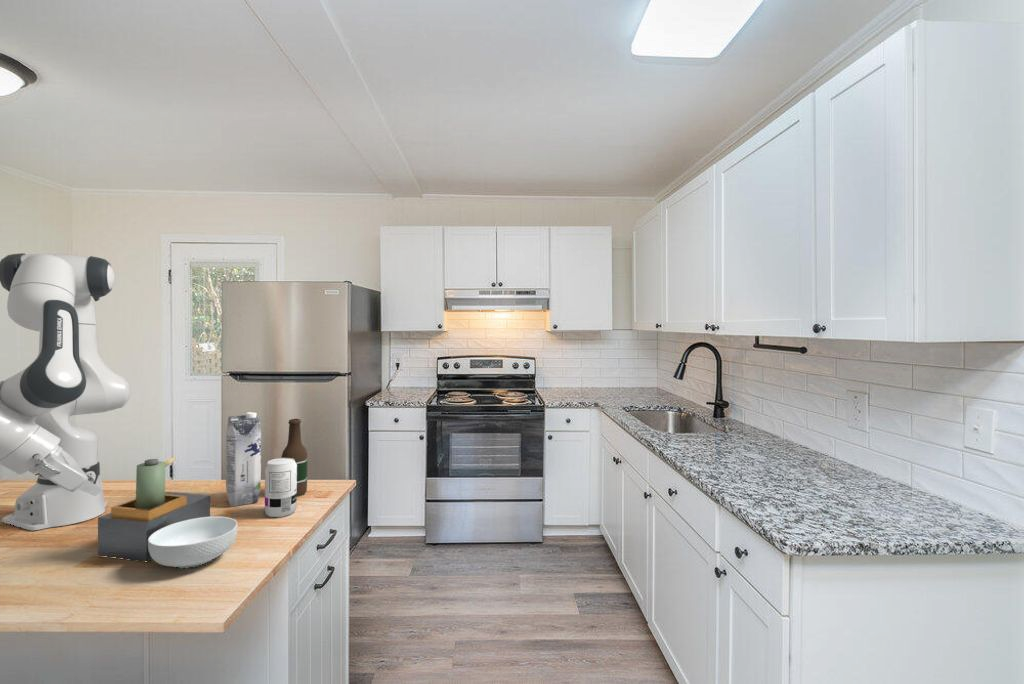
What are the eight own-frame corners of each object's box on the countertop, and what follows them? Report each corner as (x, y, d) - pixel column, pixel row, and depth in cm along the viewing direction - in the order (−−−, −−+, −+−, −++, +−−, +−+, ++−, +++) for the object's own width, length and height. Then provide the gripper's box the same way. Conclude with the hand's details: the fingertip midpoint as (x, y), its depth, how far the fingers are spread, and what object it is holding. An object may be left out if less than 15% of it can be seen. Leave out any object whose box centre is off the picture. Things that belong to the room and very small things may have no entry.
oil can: (138, 516, 109) (139, 464, 109) (133, 509, 113) (134, 459, 113) (177, 508, 115) (178, 459, 115) (171, 502, 119) (172, 454, 118)
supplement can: (258, 515, 134) (258, 462, 134) (282, 505, 142) (282, 456, 141) (279, 520, 131) (279, 466, 131) (302, 510, 139) (303, 459, 138)
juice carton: (227, 509, 138) (227, 417, 138) (225, 498, 147) (226, 411, 146) (261, 503, 143) (262, 414, 143) (257, 493, 152) (258, 409, 151)
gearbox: (86, 555, 109) (86, 507, 109) (157, 524, 127) (157, 482, 127) (146, 562, 107) (146, 512, 106) (210, 529, 124) (210, 487, 124)
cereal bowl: (243, 539, 119) (243, 511, 119) (229, 572, 103) (229, 539, 103) (162, 549, 113) (162, 519, 113) (134, 584, 97) (134, 550, 97)
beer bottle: (297, 499, 148) (297, 422, 147) (275, 496, 149) (275, 420, 149) (312, 490, 155) (313, 417, 155) (291, 488, 157) (292, 416, 156)
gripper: (52, 447, 93) (117, 485, 100) (42, 431, 106) (100, 466, 114) (20, 475, 89) (89, 512, 97) (13, 455, 103) (74, 489, 110)
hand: (94, 487), depth 105 cm, fingers open, 8 cm apart
